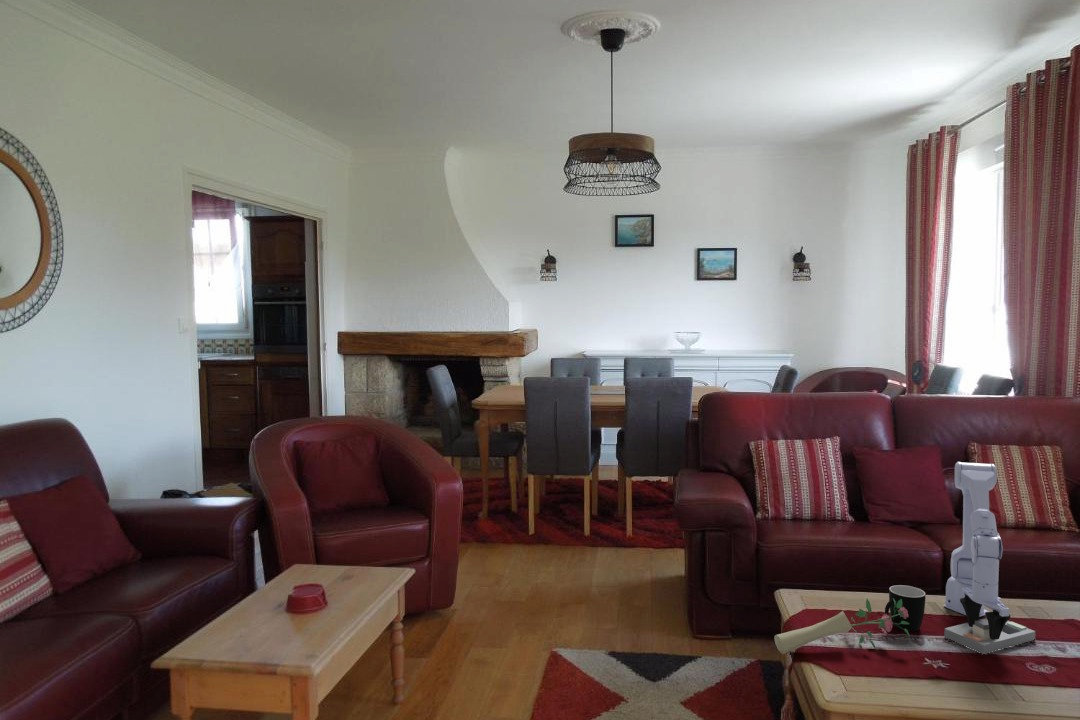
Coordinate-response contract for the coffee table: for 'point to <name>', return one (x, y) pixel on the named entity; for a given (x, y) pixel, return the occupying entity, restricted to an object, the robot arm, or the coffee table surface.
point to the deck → (1015, 636)
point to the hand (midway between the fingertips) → (983, 632)
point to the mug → (906, 606)
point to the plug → (981, 629)
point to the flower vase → (834, 629)
